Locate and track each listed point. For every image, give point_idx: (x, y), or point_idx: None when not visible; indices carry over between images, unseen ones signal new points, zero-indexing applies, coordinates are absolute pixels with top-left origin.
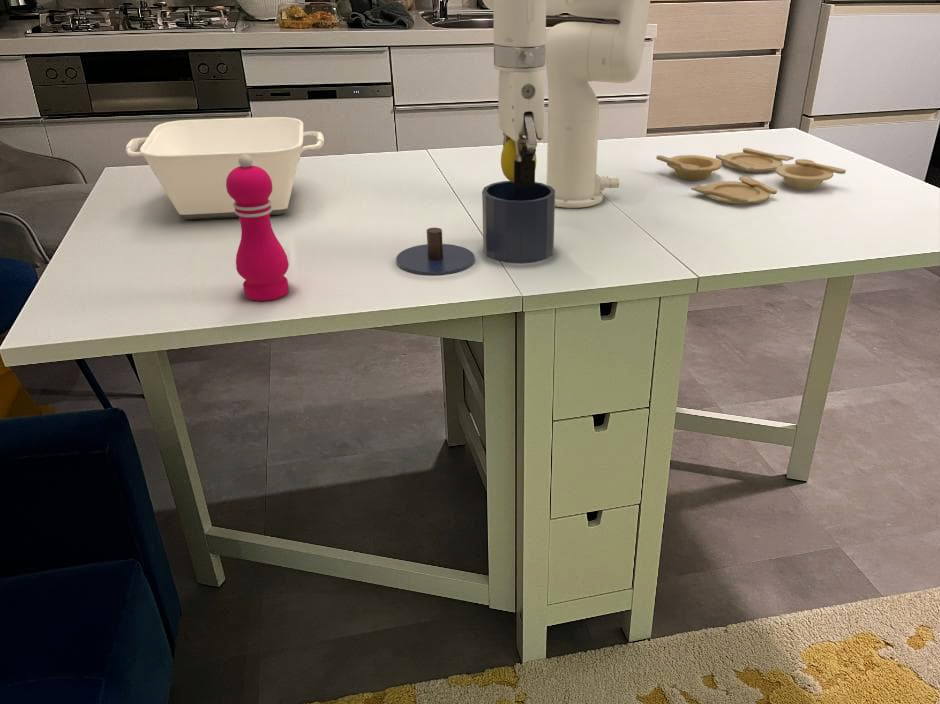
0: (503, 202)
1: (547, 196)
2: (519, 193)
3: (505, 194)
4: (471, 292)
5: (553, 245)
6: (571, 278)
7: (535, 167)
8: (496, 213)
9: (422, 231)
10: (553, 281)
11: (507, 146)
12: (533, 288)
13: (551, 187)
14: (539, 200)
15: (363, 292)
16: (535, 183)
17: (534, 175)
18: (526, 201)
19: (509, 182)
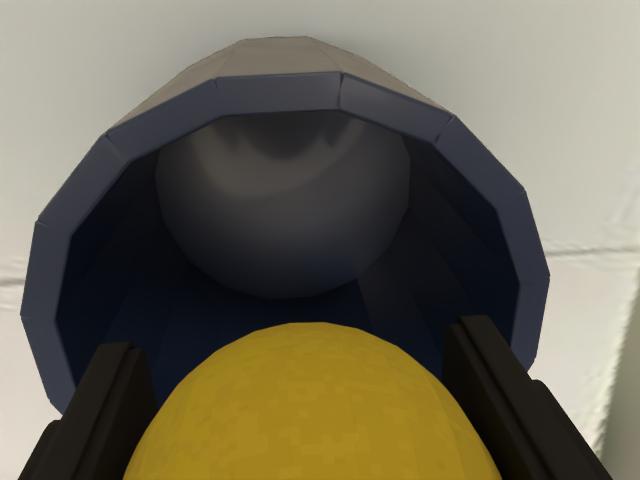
0: None
1: (488, 179)
2: (89, 255)
3: (101, 334)
4: (559, 373)
5: (325, 44)
6: (595, 41)
7: (401, 364)
8: None
9: (10, 455)
10: (590, 121)
11: None
12: (614, 204)
13: (253, 81)
14: (543, 252)
15: None
16: (108, 187)
17: (522, 368)
18: (537, 334)
19: (71, 361)
